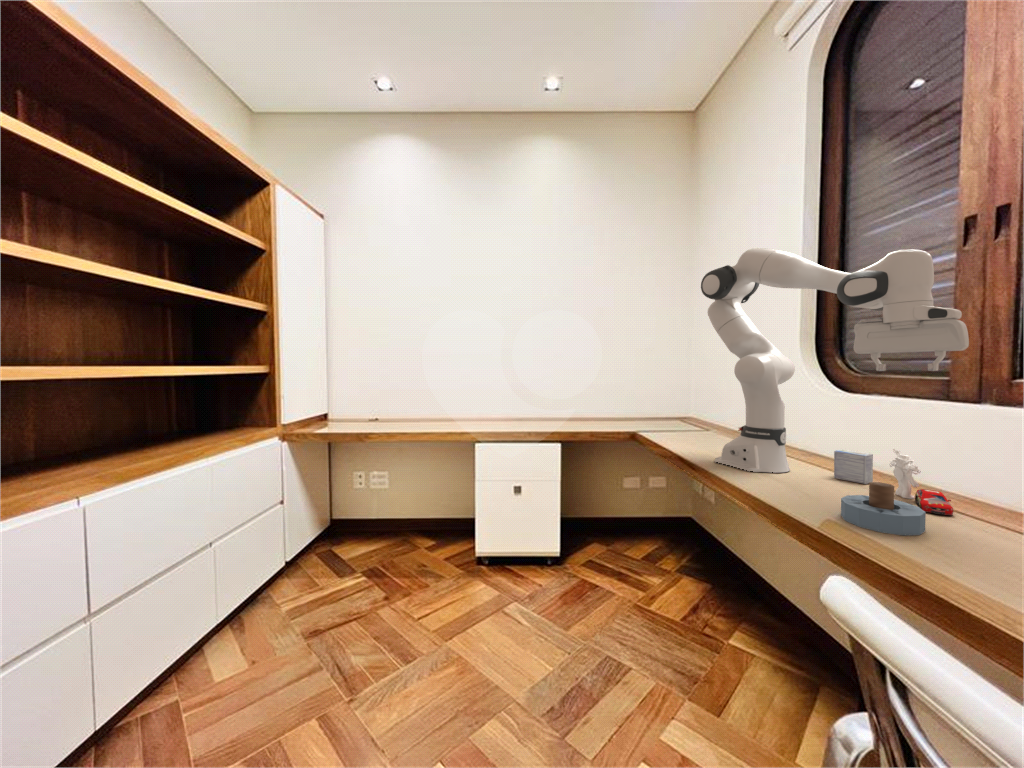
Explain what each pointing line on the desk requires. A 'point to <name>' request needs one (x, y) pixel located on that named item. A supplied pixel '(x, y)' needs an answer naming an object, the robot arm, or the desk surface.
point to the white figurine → (904, 474)
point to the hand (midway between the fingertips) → (905, 370)
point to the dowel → (881, 495)
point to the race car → (933, 502)
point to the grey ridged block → (853, 466)
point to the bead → (883, 516)
